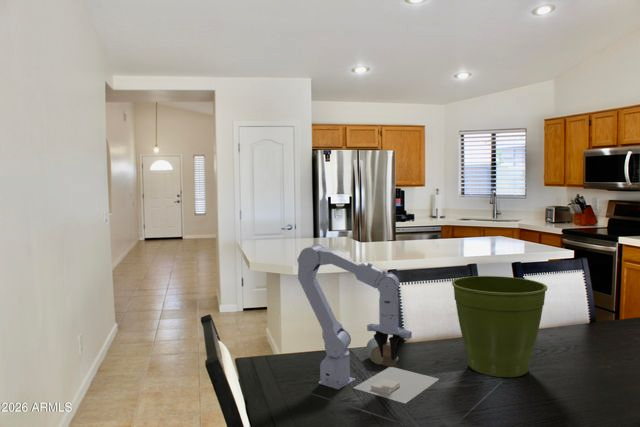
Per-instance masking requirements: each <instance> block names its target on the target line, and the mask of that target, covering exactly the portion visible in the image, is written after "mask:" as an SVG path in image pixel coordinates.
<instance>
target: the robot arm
mask: <svg viewBox="0 0 640 427" xmlns="http://www.w3.org/2000/svg"><path fill="white" fill-rule="evenodd" d="M296 261H297V263H298V265H297V266H298V267H297V279H298V281H299V284H300V285H301V288H302V290H303V292H304V294H305V297H306V298H307V300H308V302H309V305H310V306H311V309H312V311H313V312H314V314H315V317H316V319H317V321H318V323H319V325H320V327H321V330H322V331H321V332H322V335H321V336H322V340H323V343H324V349H325V352H326V356H325V358H324V359H323V360H321V362H320V366H319V369H320V370H319V372H320V376H319V377H320V378H319V379H320V380H319V381H318V384H320V385H323V386H326V387H328V388H332V389H336V390H340V389H341V388H343V387H345V386H347V385H349V384H351V383H353V382H354V381H356V378H355V377H351V367H350V365H351V364H350V362H351V361H350V360H351V359H350V358H351V357H350V355H351V353H350V350H349V346H350V345H351V341H352V337H351V335H350V333H349V332H348V331H347V330H346V329H345V328H344V327H343V324H341V323H340V322H339V321H338V320H337V317H336V315H335V314H334V312H333V310H332V308H331V306H330V304H329V301H328V300H327V298H326V296H325V295H326V294H324V291H323V290H322V287H321V285H320V283H319V281H318V279H317V274H318V271H319V269H320V267H321V266H327V265H333V266H335V267H337V268H340V269H342V270H345V271H347V272H349V273H351V274H354V276H355V278H356V280H358V282H362V283H363V284H366V285H368V286H370V287H372V288H374V289H377V291H378V292H379V304H378V306H379V309H378V310H379V315H378V316H379V319H378V322H379V324H378V323H367V325H366V329H367V330H366V331H367V332H375V333H374V334H373V338H375V340H376V342H377V344H378V346H379V349H380V353H381V357H383V344H385V343H387V342H390V346H391V359H392V360H394V359H396V358H397V357H398V353H399V350H400V348H401V345H402V343H403V341H404V339H406V340H410V339H411V338H412V336H413V335H412V333H413V332H412V331H411V330H408V329H404V328H403V327H399V298H398V297H399V294H398V292H399V291H398V288H399V286H400V279H399V278H398V276H397V275H396V274H394V273H393V272H387V270H384V269H383V270H382V269H379V268H378V267H375V266H373V265H374V264H373V263H371V262H368V263H367V262H362V263H360V264H359V263H357V262H355V261H353V260H352V259H350V258H349V257H346V256H344V255H342V254H340V253H339V252H337V251H335V250H333V249H331V248H330V247H327V246H323V245H322V244H319V243H315V244H313V245H311V246H308V247H305V248H303V249H302V250H301V251H300V253H299V256H298V257H297V260H296ZM389 335H390V337H389Z"/></svg>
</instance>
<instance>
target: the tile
mask: <svg viewBox="0 0 640 427" xmlns="http://www.w3.org/2000/svg"><path fill="white" fill-rule="evenodd" d="M398 387H400V383H399V382H396V381H392V380H388V379H385V378H382V379H381V380H379V381H377V382H376V383H374V384H372V385H371V389H372V390H375V391H379V392H382V393H385V394H389V393H391V392H392V391H394V390H395V389H397V388H398Z"/></svg>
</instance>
